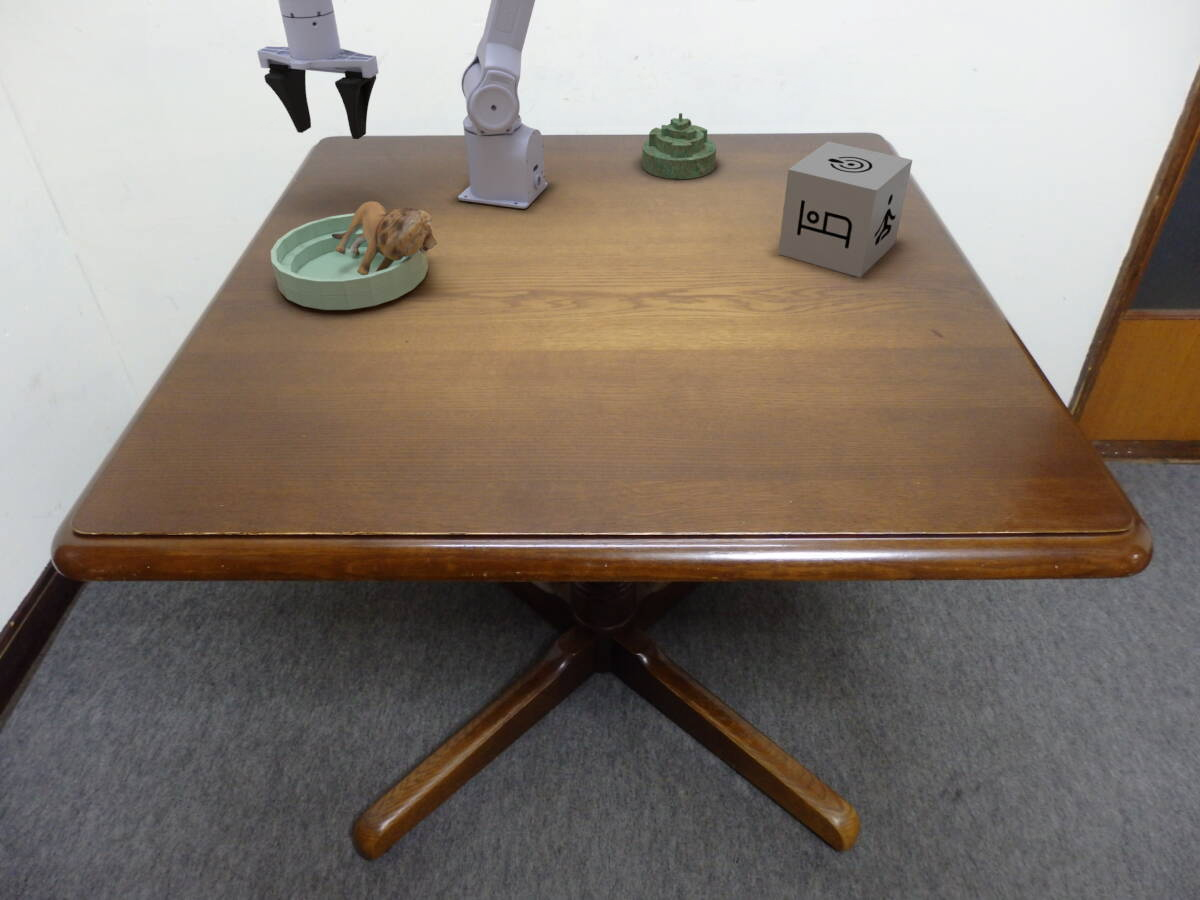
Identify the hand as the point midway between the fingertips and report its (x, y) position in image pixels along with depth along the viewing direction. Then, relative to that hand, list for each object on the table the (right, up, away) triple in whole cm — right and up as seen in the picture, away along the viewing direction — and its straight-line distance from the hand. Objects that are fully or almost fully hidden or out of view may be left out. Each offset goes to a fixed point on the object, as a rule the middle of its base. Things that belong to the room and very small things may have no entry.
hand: (331, 133), depth 110 cm
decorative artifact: (+43, +1, +15) cm, 46 cm away
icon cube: (+60, -15, -5) cm, 62 cm away
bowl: (+5, -19, -9) cm, 22 cm away
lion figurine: (+7, -19, -11) cm, 23 cm away
